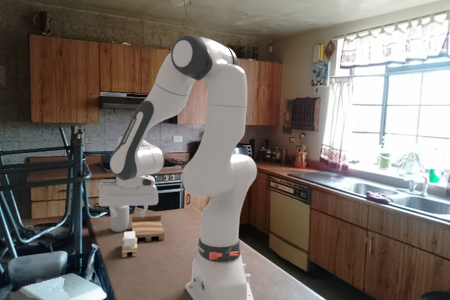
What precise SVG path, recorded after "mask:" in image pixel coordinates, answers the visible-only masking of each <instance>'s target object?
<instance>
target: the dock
mask: <svg viewBox="0 0 450 300" xmlns="http://www.w3.org/2000/svg"><path fill="white" fill-rule="evenodd" d="M131 225H132V226H131V231H135V237H137V243H139V238H144V239H145V242H152V238H155V237H157V238H158V241H165V231H164V227H163V223H162V215H161V214H159V215H158V214H157V215H156V214H155V215H145V217H140V215H139V216H134V215H133V216H131Z"/></svg>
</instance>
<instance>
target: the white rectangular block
mask: <svg viewBox="0 0 450 300" xmlns="http://www.w3.org/2000/svg"><path fill="white" fill-rule="evenodd" d="M123 233H124V234H123V238H124V247H135V231H132V230H131V231H123Z"/></svg>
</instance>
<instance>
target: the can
mask: <svg viewBox="0 0 450 300" xmlns="http://www.w3.org/2000/svg"><path fill="white" fill-rule="evenodd" d="M113 210H114V211H115V212H117V218H113V214H112V212H111V211H110V210H109V211H110V213H109V214H110V217H109V218H110V224H109V225H110V228H109V229H111V231H113V232H115V233H121V232H123V233H124V232H127V230H128V229H129V228H130V206H114V209H113Z"/></svg>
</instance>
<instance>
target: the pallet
mask: <svg viewBox="0 0 450 300" xmlns="http://www.w3.org/2000/svg"><path fill="white" fill-rule="evenodd" d="M130 252H131V253H132V255H131V256H132V257H137V256H138V242H137V237H135V247H124V237H122V246H121V257H122V258H126V257H128V253H130Z"/></svg>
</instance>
